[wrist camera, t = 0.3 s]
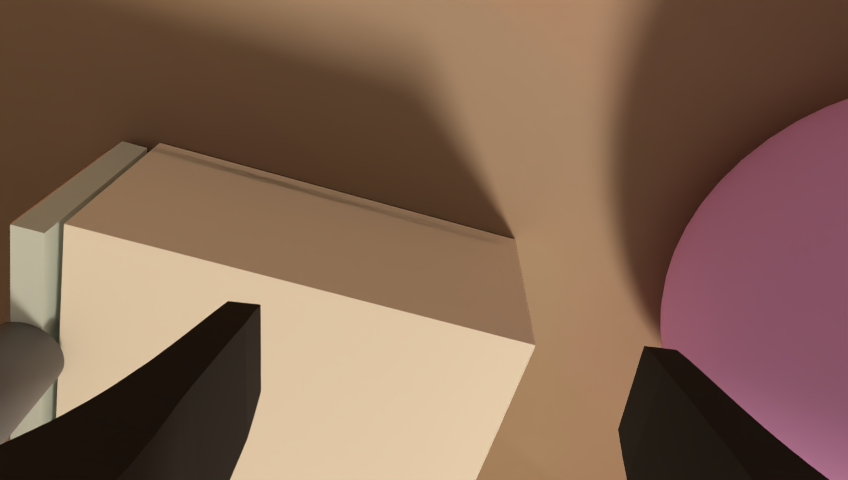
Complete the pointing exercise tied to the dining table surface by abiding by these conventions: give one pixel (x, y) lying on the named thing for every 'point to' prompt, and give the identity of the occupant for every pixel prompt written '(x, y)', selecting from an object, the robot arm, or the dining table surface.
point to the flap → (44, 294)
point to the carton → (303, 314)
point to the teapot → (774, 288)
